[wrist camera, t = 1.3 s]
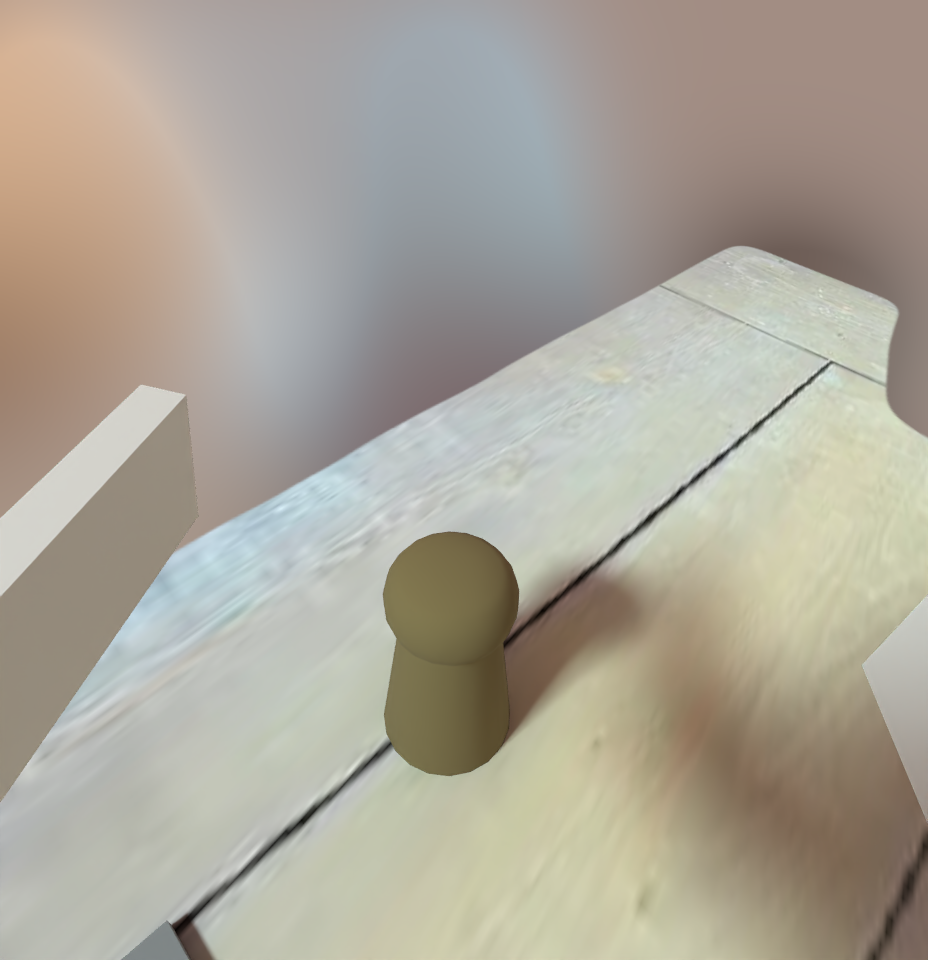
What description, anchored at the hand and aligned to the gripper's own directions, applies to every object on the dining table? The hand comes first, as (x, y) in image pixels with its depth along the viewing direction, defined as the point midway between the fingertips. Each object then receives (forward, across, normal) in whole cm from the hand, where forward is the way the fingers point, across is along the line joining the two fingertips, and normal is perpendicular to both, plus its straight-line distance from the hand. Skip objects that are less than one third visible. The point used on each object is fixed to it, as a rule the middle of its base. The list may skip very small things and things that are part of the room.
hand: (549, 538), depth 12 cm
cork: (+9, 0, -21) cm, 23 cm away
